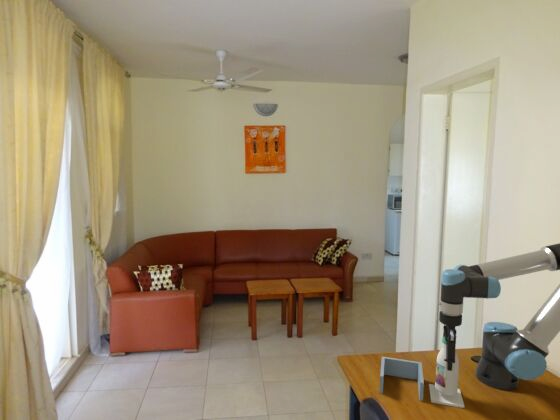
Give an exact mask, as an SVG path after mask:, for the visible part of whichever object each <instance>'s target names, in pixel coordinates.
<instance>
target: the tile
mask: <svg viewBox="0 0 560 420" xmlns="http://www.w3.org/2000/svg"><path fill="white" fill-rule="evenodd" d="M428 389H429V396H430V397H429V399H430V402H431V404H439V405H442V406H443V405H444V406H450V407H455V408H460V409H465V403H464V400H463V396H462V392H461V389H460V388H458V390H457V393H456V394H455V395H445V394H442V393H440V392H438V391H437V390H436V388H435V384H431V383H428Z"/></svg>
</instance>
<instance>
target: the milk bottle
mask: <svg viewBox="0 0 560 420" xmlns="http://www.w3.org/2000/svg"><path fill="white" fill-rule="evenodd" d="M447 339H448V338H447ZM441 344H442V346H441V349H440V350H439V351H438V353H437V357H436V363H435V378H434V385H435V388H436V390H437V391H438V392H440V393H442V394H445V395H455V394H456V393H457V390H458V389H459V388H458V386H459V376H460V375H459V372H460V361H459V360H460V359H459V356H458V354H457V352H456V350H455V363H454V368H453V379H450V378H445V377H444V374H445V361H444V359H446V341H445V337H443V336H442V339H441Z"/></svg>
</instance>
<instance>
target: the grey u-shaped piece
mask: <svg viewBox="0 0 560 420" xmlns="http://www.w3.org/2000/svg"><path fill="white" fill-rule="evenodd" d="M380 361H381V363H380V374H379V393H378V394H381V395H383V394H384V383H385V381H384V380H385V376H392V377H399V378H404V379H409V380H410V379H411V380H416V381H417V388H418V389H417V390H418V399H419V401H420V402H423V401H424V391H425V390H424V388H425V383H424V380H425V379H424V375H423V374H424V371H423V364H422V361H420V362H419V361H414V360H407V359H401V358H394V357H388V356H381V360H380Z"/></svg>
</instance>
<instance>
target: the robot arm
mask: <svg viewBox="0 0 560 420" xmlns="http://www.w3.org/2000/svg"><path fill="white" fill-rule="evenodd" d="M546 270H548V271H550V272H555V271H560V242H558V243H555V244H551V245H545V246H542V247H540V249H539V250H536V251H531V252H527V253H523V254H517V255H514V256H510V257H505V258H500V259H496V260H492V261H487V262H483V263H479V264H473V265H469V266H468V265H466V264H458V265H456V266H454V268H452V269H451V268H450V269H444V270H443V271H442V273H441V274H442V275H441V280H440V301H439V302H438V303H437V304H438V305H439V315H438V317H439V318H438V320H439V322H440V323H441V324H443V325H442V326H443V327H442V329H443V335H442V338H443V337H445V341H446V359H444V361H445V374H444V377H445V378H450V379H453V368H454V363H455V351H456V345H457V329H456V327H460V326H462V323H463V315H462V314H463V312H464V298H466V299H467V298H471V299H473V298H474V299H475V298H476V299H486V300H487V299H496V298H498V297H499V296H500V295H501V290H502V289H501V288H502V287H501V283H500V280H505V279H509V278H514V277H518V276H523V275H528V274H532V273H537V272H541V271H546ZM559 333H560V283H559V284H558V286H556V288H555V289H554V290H553V291H552V293H551V294H550V296H548V298H546V300H545V302H544V303H543V304H542V306H540V308H539V309H538V310H537V311H536V313H535V314H534V315H533V316H532V318H531V320H530V321H528V322H527V324H526V325H525V327H524V328H523V329H518V328H517V326H515V325H513V324H511V323H506V322H501V321H489V322H486V323H484V325H483V329H482V343H481V344H482V347H481V357H480V360H479V361H478V363H477V365H476V367H475V377H476V378H477V380H479V381H480V382H481V383H482V384H485V385H487V386H489V387H491V388H495V389H499V390H504V391H505V390H506V391H507V390H508V391H509V390H510V391H511V390H514V389H517V388H518V387H519V383H520V380H523V381H530V380H531V381H532V380H536V379H538V378H540V377H541V376H543V375H544V373H545V372H546V370H547V360H546V357H547V356H548V355H549V353H550V351H549V348H548V347H549V346H550V344H551V343H552V342H553V340H554V339H555V338H556V337H557V335H558V334H559ZM447 338H448V339H447ZM519 379H520V380H519Z"/></svg>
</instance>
